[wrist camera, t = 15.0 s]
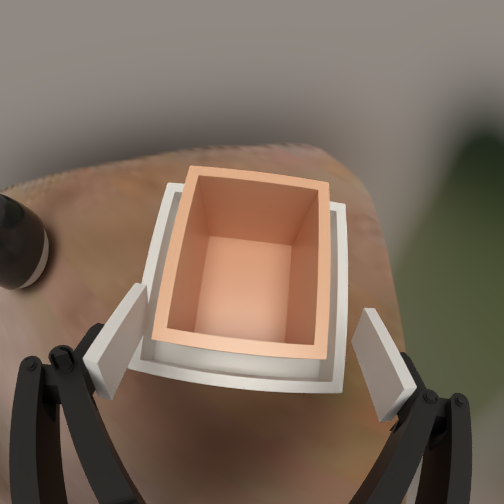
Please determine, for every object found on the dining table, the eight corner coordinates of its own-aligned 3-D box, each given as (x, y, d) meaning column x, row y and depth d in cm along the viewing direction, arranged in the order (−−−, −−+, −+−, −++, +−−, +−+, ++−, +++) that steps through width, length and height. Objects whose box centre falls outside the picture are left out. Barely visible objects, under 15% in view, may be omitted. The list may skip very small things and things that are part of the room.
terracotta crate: (185, 346, 25) (151, 339, 14) (204, 231, 29) (190, 165, 19) (289, 358, 25) (326, 359, 15) (298, 242, 29) (328, 182, 19)
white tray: (145, 366, 24) (127, 368, 20) (176, 207, 31) (167, 182, 26) (324, 387, 25) (342, 392, 20) (330, 225, 31) (345, 204, 27)
